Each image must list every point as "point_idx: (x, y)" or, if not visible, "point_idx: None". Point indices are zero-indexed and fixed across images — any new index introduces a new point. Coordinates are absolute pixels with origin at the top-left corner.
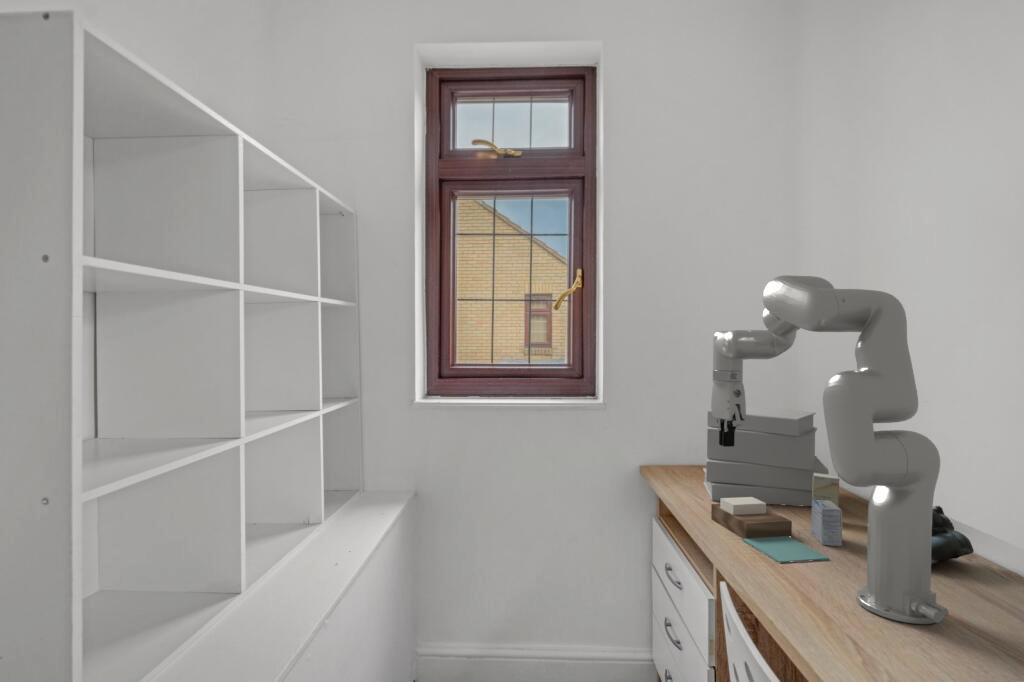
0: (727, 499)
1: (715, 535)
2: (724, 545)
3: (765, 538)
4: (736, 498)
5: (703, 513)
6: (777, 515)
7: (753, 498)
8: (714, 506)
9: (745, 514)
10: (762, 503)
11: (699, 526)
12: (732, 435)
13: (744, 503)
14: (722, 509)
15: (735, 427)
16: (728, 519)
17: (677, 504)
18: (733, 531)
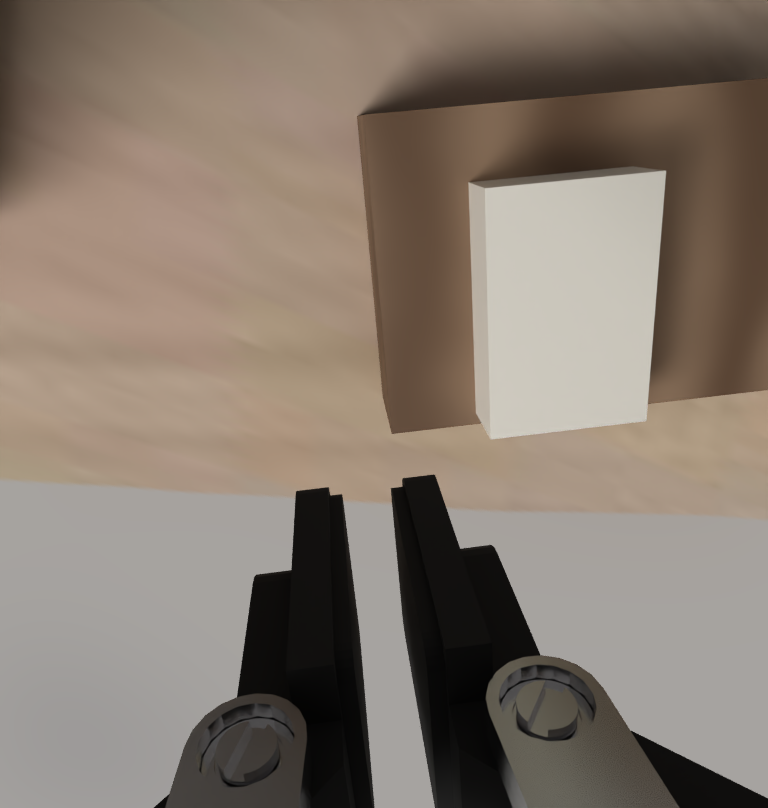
0: (525, 405)
1: (622, 469)
2: (743, 479)
3: None
4: (511, 333)
5: (271, 398)
6: (692, 107)
7: (530, 202)
8: (427, 427)
9: None
10: (661, 201)
11: (489, 495)
12: (531, 645)
13: (634, 334)
14: None
15: (741, 800)
16: None
17: (89, 482)
18: None
